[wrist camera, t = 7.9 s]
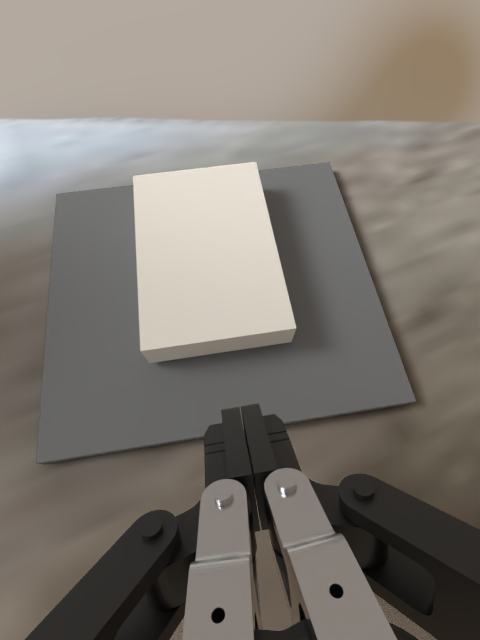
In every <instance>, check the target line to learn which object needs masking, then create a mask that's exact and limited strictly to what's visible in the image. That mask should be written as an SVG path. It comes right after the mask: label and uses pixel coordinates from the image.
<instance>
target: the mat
mask: <svg viewBox="0 0 480 640" xmlns="http://www.w3.org/2000/svg"><path fill="white" fill-rule="evenodd" d="M258 172H259V176H260V181H261V185H262V189H263V193H264V197H265V201H266V205H267V209H268V213H269V217H270V222H271V226H272V230H273V234H274V238H275V242H276V246H277V250H278V254H279V259H280V263H281V267H282V271H283V275H284V279H285V283H286V287H287V291H288V295H289V300H290V304H291V308H292V312H293V316H294V320H295V324H296V331H295V334H294V336H293V339H292V342H289V343H282V344H276V345H269V346H262V347H255V348H249V349H242V350H235V351H229V352H222V353H215V354H208V355H202V356H195V357H188V358H182V359H175V360H168V361H161V362H155V363H149V362H148V360H147V359H146V358H145V357H144V355H143V354H142V353H141V351H140V331H139V308H138V284H137V261H136V237H135V214H134V190H133V185H130V186H121V187H112V188H104V189H95V190H87V191H78V192H69V193H61V194H56V207H55V220H54V234H53V247H52V260H51V273H50V286H49V299H48V312H47V325H46V338H45V351H44V364H43V377H42V390H41V403H40V416H39V429H38V442H37V455H36V463H37V464H48V463H54V462H60V461H66V460H72V459H78V458H84V457H90V456H96V455H103V454H109V453H115V452H121V451H127V450H133V449H139V448H145V447H151V446H157V445H163V444H170V443H176V442H182V441H188V440H194V439H200V438H204V434H205V432H206V431H207V429H208V427H209V425H213V424H219V423H222V415H221V410H222V409H228V408H234V407H239V408H240V414H241V419H242V413H241V406H245V405H251V404H257V403H259V405H260V409H261V412H262V416H265V415H271V414H275V415H276V416H278V417H279V418H280V419H281V420H282V421H283V423H284V425H285V424H291V423H297V422H304V421H310V420H316V419H322V418H328V417H334V416H340V415H346V414H352V413H358V412H365V411H371V410H377V409H383V408H389V407H395V406H401V405H407V404H411V403H413V402H415V401H416V399H415V397H414V394H413V391H412V388H411V386H410V383H409V380H408V377H407V375H406V372H405V369H404V366H403V364H402V361H401V358H400V355H399V352H398V350H397V347H396V344H395V341H394V339H393V336H392V333H391V330H390V328H389V325H388V322H387V319H386V317H385V314H384V311H383V308H382V306H381V303H380V300H379V297H378V295H377V292H376V289H375V286H374V284H373V281H372V278H371V275H370V273H369V270H368V267H367V264H366V262H365V259H364V256H363V253H362V251H361V248H360V245H359V242H358V240H357V237H356V234H355V231H354V229H353V226H352V223H351V220H350V217H349V215H348V212H347V209H346V206H345V204H344V201H343V198H342V195H341V193H340V190H339V187H338V184H337V182H336V179H335V176H334V173H333V171H332V168H331V165H330V162H328V163H319V164H310V165H302V166H293V167H285V168H276V169H267V170H259V171H258ZM242 424H243V420H242ZM243 429H244V426H243Z"/></svg>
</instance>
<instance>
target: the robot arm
mask: <svg viewBox="0 0 480 640" xmlns="http://www.w3.org/2000/svg"><path fill="white" fill-rule="evenodd" d="M241 413H242V419H241V414H240V408H239V407H234V408H228V409H222V410H221V415H222V423H219V424H213V425H209V427H208V429H207V431H206V432H205V434H204V446H205V447H204V451H205V490H204V492H203V493H202V496H201V500H200V501H199V502H198V503H197V504H196V505H195V506H194V507H193V508H191V509H190V510H188V511H186V512H184V513H182V514H180V515H178V516H176V517H175V516H174V515H173V514H172V513H170V512H168V511H165V510H155V511H151V512H149V513H146V514H144V515H143V516H141V517H140V518H139V519H138V520H136V521H135V522H134V524H133V525H132V526H131V527H130V528H129V529H128V530H127V531H126V532H125V533H124V534H123V535H122V536H121V537H120V538H119V540H118V541H117V542H116V543H115V544H114V545H113V546H112V547H111V548H110V549H109V550H108V551H107V552H106V553H105V554H104V556H103V557H102V558H101V559H100V560H99V561H98V562H97V563H96V564H95V565H94V566H93V567H92V568H91V569H90V570H89V572H88V573H87V574H86V575H85V576H84V577H83V578H82V579H81V580H80V581H79V582H78V583H77V584H76V585H75V586H74V588H73V589H72V590H71V591H70V592H69V593H68V594H67V595H66V596H65V597H64V598H63V599H62V600H61V601H60V602H59V604H58V605H57V606H56V607H55V608H54V609H53V610H52V611H51V612H50V613H49V614H48V615H47V616H46V617H45V618H44V620H43V621H42V622H41V623H40V624H39V625H38V626H37V627H36V628H35V629H34V630H33V631H32V632H31V633H30V634H29V636H28V637H27V638H26V639H25V640H169V639H170V638H171V636H172V635H173V633H174V631H175V630H176V628H177V627H178V625H179V624H180V622H181V620H182V619H183V617H184V627H183V637H182V640H418V639H417V638H415V637H414V636H413V635H411V634H409V633H408V632H406V631H405V630H403V629H401V628H399V627H397V626H395V625H393V624H391V623H388V621H387V619H386V617H385V615H384V613H383V611H382V609H381V607H380V605H379V603H378V601H377V599H376V597H375V595H374V593H375V594H377V595H378V596H380V597H381V598H382V599H384V600H385V601H386V602H388V603H389V604H390V605H392V606H393V607H394V608H396V609H397V610H398V611H400V612H401V613H402V614H404V615H405V616H407V617H408V618H409V619H411V620H412V621H413V622H415V623H416V624H417V625H419V626H420V627H421V628H423V629H424V630H425V631H427V632H428V633H430V634H431V635H432V636H434V637H435V638H436V639H438V640H480V530H478V529H476V528H474V527H472V526H470V525H468V524H466V523H465V522H463V521H461V520H459V519H457V518H455V517H453V516H451V515H449V514H447V513H445V512H443V511H441V510H439V509H437V508H435V507H433V506H431V505H429V504H427V503H425V502H423V501H421V500H419V499H417V498H415V497H413V496H411V495H409V494H407V493H405V492H403V491H401V490H399V489H397V488H395V487H393V486H391V485H389V484H387V483H385V482H383V481H381V480H379V479H377V478H375V477H372V476H370V475H366V474H353V475H349V476H347V477H345V478H344V479H343V480H342V481H341V483H340V485H339V486H330V485H322V484H318V483H316V482H313V481H311V480H310V479H308V478H307V476H306V475H305V474H304V473H302V471H301V469H300V466H299V464H298V461H297V458H296V455H295V453H294V450H293V447H292V445H291V442H290V440H289V437H288V434H287V432H286V428H285V426H284V423H283V421H282V420H281V419H280V418H279V417H278V416H276V415H275V414H271V415H265V416H262V412H261V409H260V405H259V403H257V404H251V405H245V406H241ZM242 420H243V424H242ZM243 426H244V429H243ZM244 433H245V435H244ZM254 490H255V491H254ZM255 495H256V498H255ZM256 500H257V505H258V511H259V516H260V521H261V527H262V530H266V529H269V533H270V537H271V543H272V551H273V556H274V559H275V563H276V566H277V570H278V573H279V577H280V580H281V584H282V587H283V591H284V594H285V598H286V601H287V605H288V608H289V611H290V615H291V619H292V623H293V626H291V627H289V628H287V629H285V630H283V631H271V630H262V621H261V609H260V597H259V584H258V572H257V560H256V549H257V545H256V538H255V532H256V531H260V526H259V519H258V512H257V505H256ZM373 592H374V593H373Z"/></svg>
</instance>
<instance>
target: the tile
mask: <svg viewBox="0 0 480 640" xmlns="http://www.w3.org/2000/svg"><path fill="white" fill-rule="evenodd" d="M133 190H134V214H135V237H136V261H137V284H138V308H139V331H140V351H141V353H142V354H143V355H144V357H145V358H146V359H147V360H148V362H149V363H155V362H161V361H168V360H175V359H182V358H188V357H195V356H202V355H208V354H215V353H222V352H229V351H235V350H242V349H249V348H255V347H262V346H269V345H276V344H282V343H289V342H292V339H293V336H294V334H295V331H296V324H295V320H294V316H293V312H292V308H291V304H290V300H289V295H288V291H287V287H286V283H285V279H284V275H283V271H282V267H281V263H280V259H279V254H278V250H277V246H276V242H275V238H274V234H273V230H272V226H271V222H270V217H269V213H268V209H267V205H266V201H265V197H264V193H263V189H262V185H261V181H260V176H259V172H258V168H257V164H256V162H250V163H241V164H233V165H224V166H215V167H206V168H198V169H189V170H180V171H171V172H163V173H154V174H145V175H136V176H133Z"/></svg>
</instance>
